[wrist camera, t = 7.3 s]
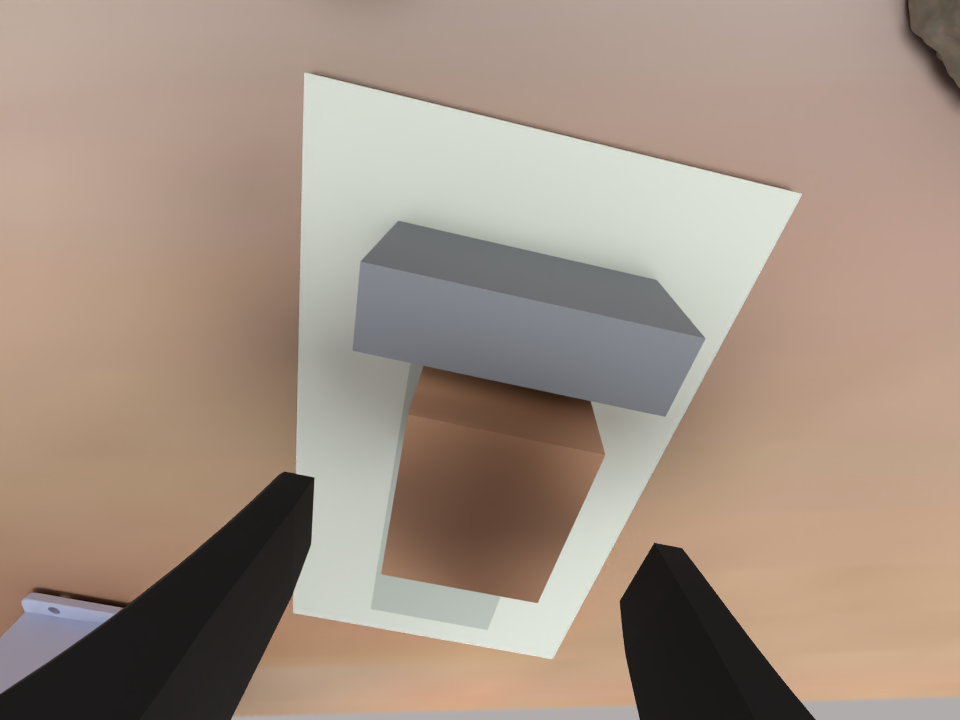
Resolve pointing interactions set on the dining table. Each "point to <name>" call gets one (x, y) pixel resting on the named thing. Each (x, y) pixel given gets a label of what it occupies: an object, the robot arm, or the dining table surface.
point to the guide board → (513, 207)
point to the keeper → (489, 484)
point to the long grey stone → (939, 30)
